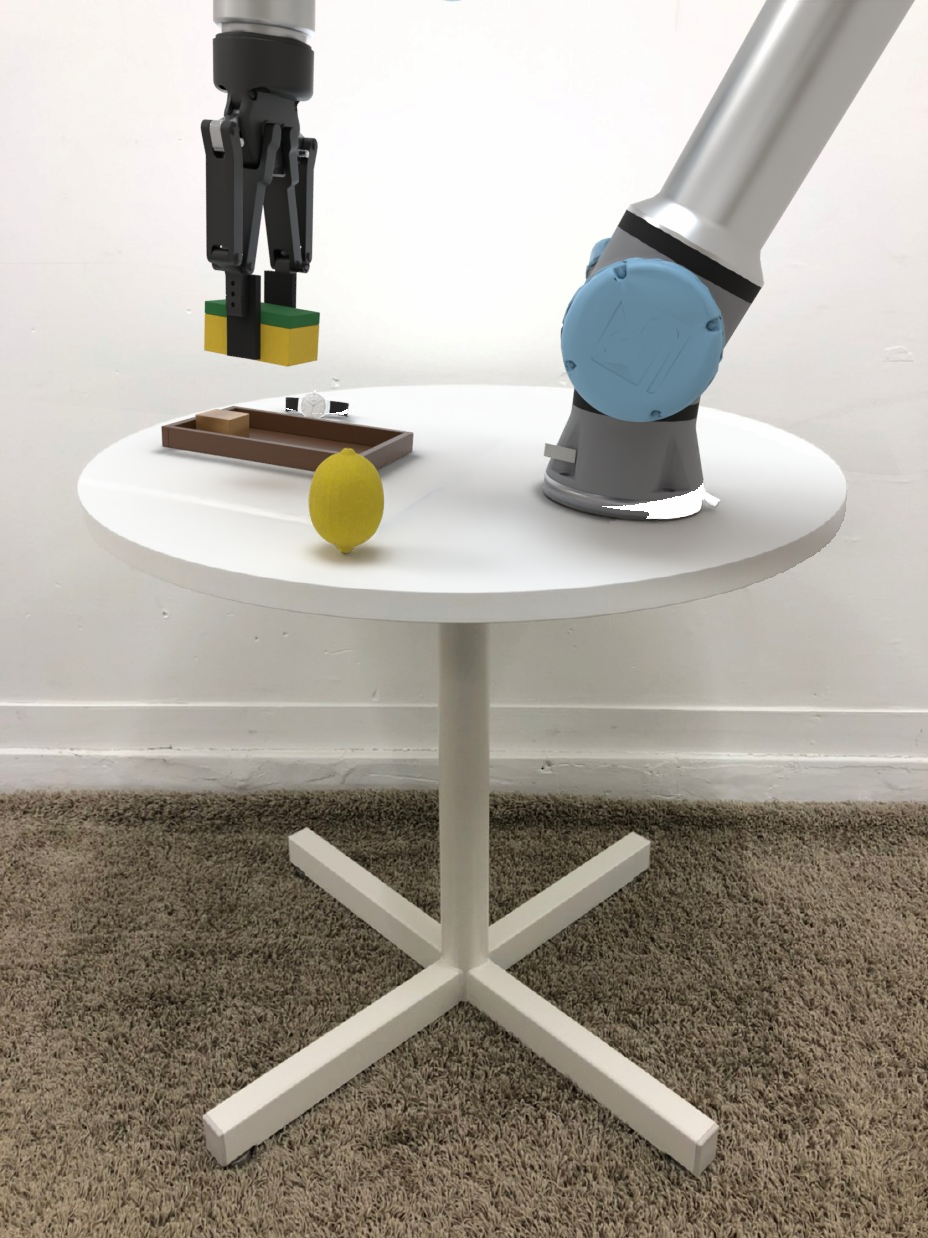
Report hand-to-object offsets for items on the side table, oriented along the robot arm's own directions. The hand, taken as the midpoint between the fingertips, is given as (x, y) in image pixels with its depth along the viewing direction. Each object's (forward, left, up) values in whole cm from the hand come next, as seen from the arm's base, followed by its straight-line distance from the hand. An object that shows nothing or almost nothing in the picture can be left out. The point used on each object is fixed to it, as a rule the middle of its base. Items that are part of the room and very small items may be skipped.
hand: (262, 353), depth 82 cm
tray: (+5, -14, -12) cm, 19 cm away
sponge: (0, 0, 0) cm, 0 cm away
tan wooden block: (+13, -14, -11) cm, 22 cm away
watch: (+11, -32, -12) cm, 36 cm away
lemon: (-13, +11, -12) cm, 21 cm away
